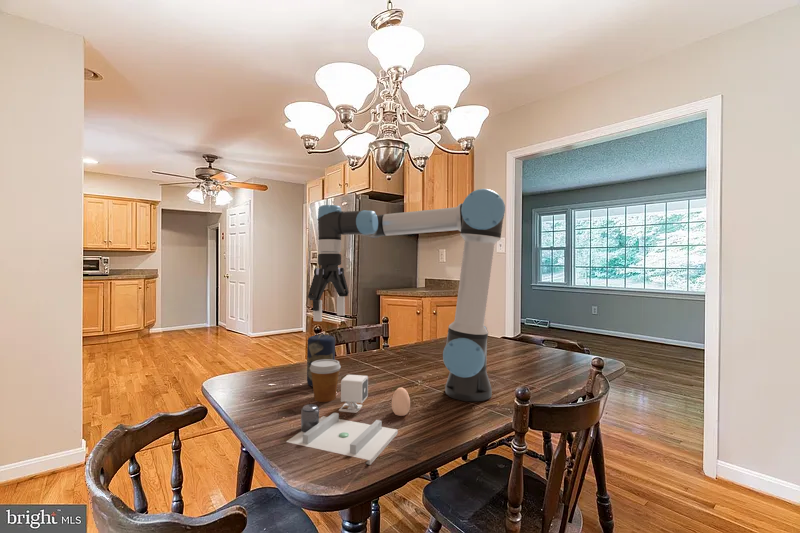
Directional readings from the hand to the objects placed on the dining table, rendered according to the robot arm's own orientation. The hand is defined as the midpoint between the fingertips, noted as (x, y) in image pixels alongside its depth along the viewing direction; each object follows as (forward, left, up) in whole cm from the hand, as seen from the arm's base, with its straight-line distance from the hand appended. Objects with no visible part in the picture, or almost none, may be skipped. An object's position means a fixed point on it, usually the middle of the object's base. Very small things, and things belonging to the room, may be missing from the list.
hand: (329, 318), depth 124 cm
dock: (-20, +26, -25) cm, 41 cm away
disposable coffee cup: (-2, +6, -25) cm, 26 cm away
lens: (-10, +26, -24) cm, 37 cm away
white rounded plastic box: (-14, +10, -25) cm, 31 cm away
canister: (+8, -7, -25) cm, 27 cm away
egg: (-28, +8, -25) cm, 39 cm away
